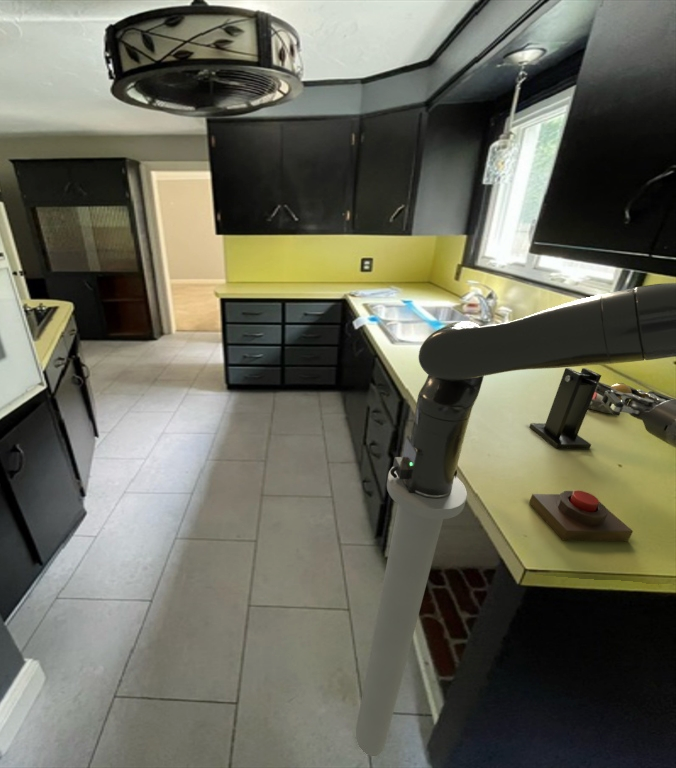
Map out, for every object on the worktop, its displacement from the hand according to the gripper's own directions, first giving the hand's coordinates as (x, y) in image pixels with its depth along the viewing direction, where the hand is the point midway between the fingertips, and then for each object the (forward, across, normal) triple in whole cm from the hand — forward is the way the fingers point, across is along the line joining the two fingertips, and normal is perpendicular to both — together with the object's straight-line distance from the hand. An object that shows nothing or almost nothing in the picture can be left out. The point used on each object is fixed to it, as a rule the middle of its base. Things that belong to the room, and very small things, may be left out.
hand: (607, 387), depth 77 cm
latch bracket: (+7, 0, +17) cm, 18 cm away
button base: (-21, +17, +17) cm, 32 cm away
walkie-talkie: (+24, -22, +18) cm, 37 cm away
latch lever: (+2, 0, +2) cm, 3 cm away
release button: (-21, +17, +13) cm, 30 cm away
